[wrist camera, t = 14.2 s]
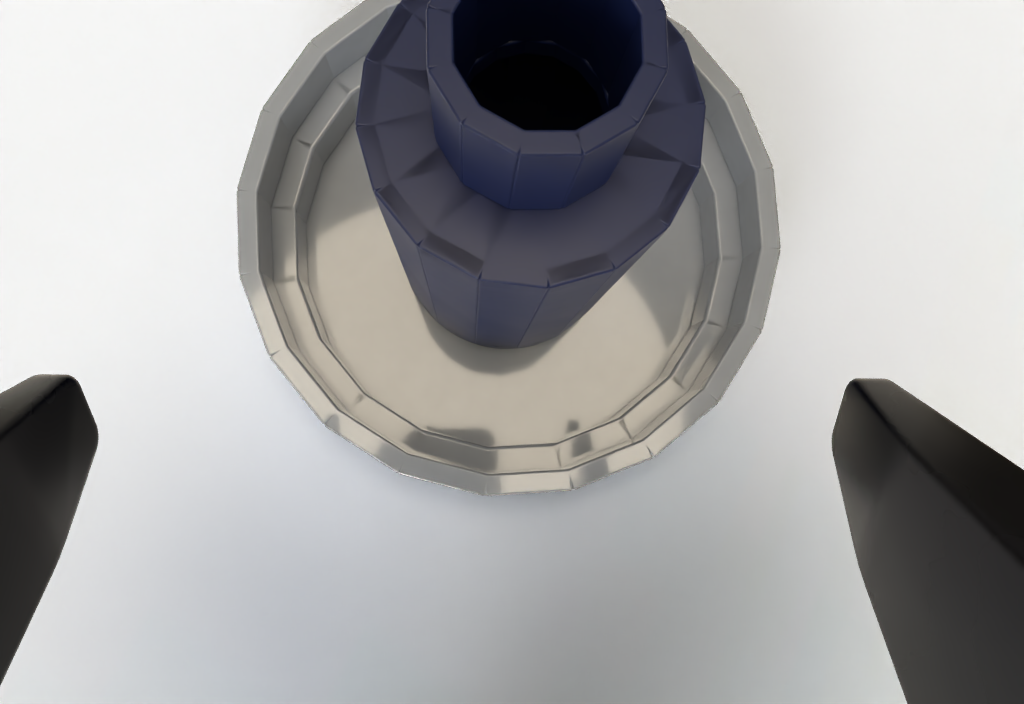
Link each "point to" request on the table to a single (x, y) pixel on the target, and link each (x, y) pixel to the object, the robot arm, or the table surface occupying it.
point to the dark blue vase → (526, 153)
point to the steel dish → (478, 369)
